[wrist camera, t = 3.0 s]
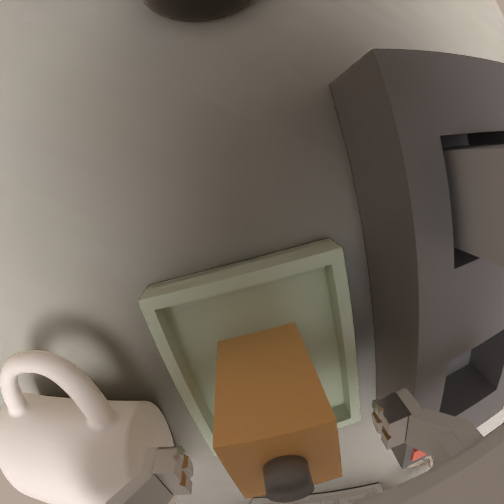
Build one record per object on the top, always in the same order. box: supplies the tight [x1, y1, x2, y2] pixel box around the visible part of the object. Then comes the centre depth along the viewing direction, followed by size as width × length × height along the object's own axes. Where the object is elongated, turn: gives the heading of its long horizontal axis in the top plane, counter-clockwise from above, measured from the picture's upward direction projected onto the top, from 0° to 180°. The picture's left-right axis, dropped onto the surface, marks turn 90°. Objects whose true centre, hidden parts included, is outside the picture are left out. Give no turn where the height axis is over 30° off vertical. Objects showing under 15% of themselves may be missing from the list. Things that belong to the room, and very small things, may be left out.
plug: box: [213, 322, 342, 503], centre depth 11 cm, size 4×4×8 cm
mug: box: [0, 350, 177, 504], centre depth 12 cm, size 12×10×8 cm
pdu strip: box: [329, 49, 504, 469], centre depth 13 cm, size 22×9×5 cm, turn 14°
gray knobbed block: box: [442, 144, 504, 268], centre depth 9 cm, size 4×4×8 cm
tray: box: [138, 238, 361, 457], centre depth 15 cm, size 11×9×2 cm
